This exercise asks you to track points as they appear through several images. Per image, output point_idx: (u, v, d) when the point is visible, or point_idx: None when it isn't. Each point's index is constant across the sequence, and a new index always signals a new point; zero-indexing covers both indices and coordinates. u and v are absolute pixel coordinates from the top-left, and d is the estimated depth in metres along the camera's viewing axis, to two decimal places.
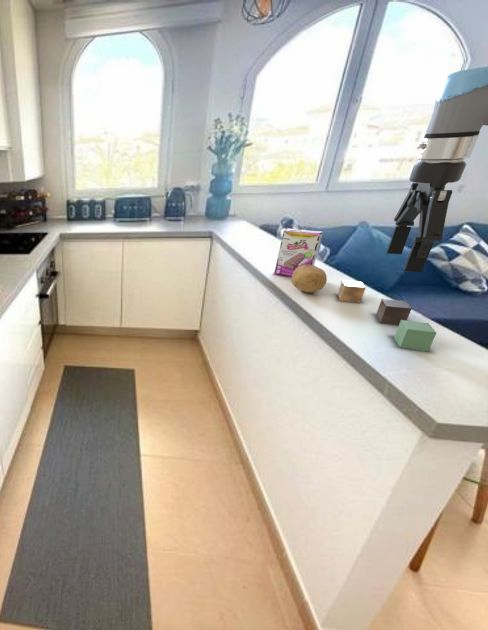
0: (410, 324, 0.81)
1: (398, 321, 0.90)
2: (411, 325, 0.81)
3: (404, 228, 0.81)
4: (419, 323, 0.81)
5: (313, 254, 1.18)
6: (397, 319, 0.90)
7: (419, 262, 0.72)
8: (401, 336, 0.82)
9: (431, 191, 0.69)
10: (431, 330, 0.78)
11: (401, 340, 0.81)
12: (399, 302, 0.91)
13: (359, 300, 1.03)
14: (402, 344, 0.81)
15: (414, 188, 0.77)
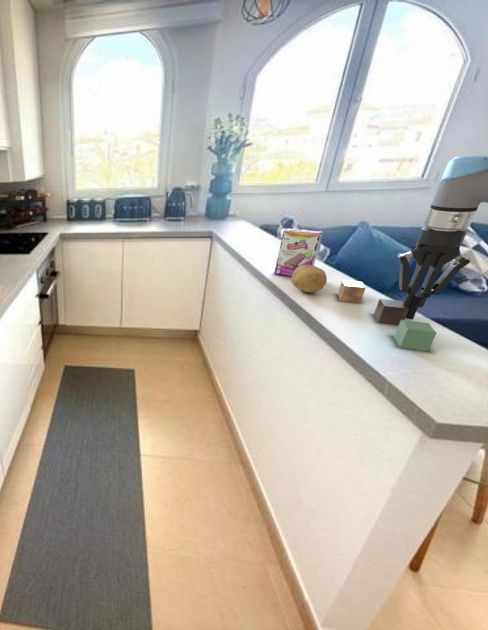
0: (410, 324, 0.81)
1: (396, 321, 0.91)
2: (411, 325, 0.81)
3: None
4: (419, 323, 0.81)
5: (313, 254, 1.18)
6: (395, 319, 0.90)
7: None
8: (401, 336, 0.82)
9: (458, 254, 0.81)
10: (431, 330, 0.78)
11: (401, 340, 0.81)
12: (397, 302, 0.92)
13: (359, 300, 1.03)
14: (402, 344, 0.81)
15: None
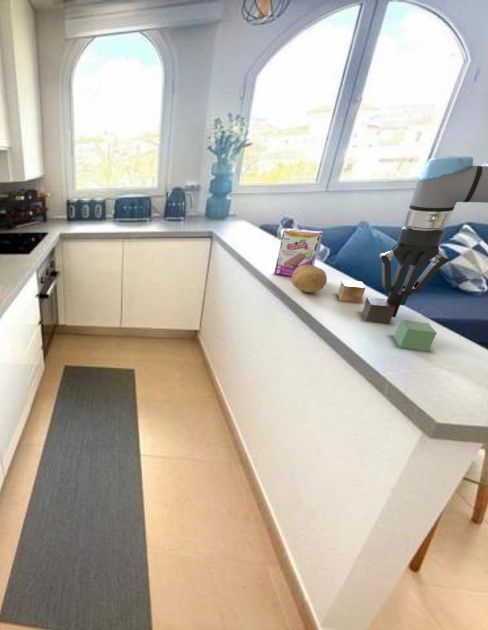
0: (410, 324, 0.81)
1: (383, 319, 0.92)
2: (411, 325, 0.81)
3: None
4: (419, 323, 0.81)
5: (313, 254, 1.18)
6: (382, 317, 0.91)
7: None
8: (401, 336, 0.82)
9: (437, 253, 0.82)
10: (431, 330, 0.78)
11: (401, 340, 0.81)
12: (384, 300, 0.93)
13: (359, 300, 1.03)
14: (402, 344, 0.81)
15: (387, 257, 0.87)
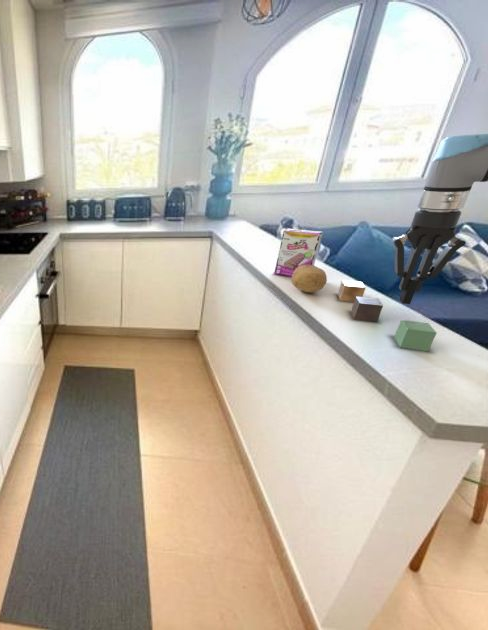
0: (410, 324, 0.81)
1: (371, 318, 0.93)
2: (411, 325, 0.81)
3: None
4: (419, 323, 0.81)
5: (313, 254, 1.18)
6: (370, 315, 0.93)
7: None
8: (401, 336, 0.82)
9: (454, 236, 0.80)
10: (431, 330, 0.78)
11: (401, 340, 0.81)
12: (372, 299, 0.94)
13: None
14: (402, 344, 0.81)
15: (401, 241, 0.85)
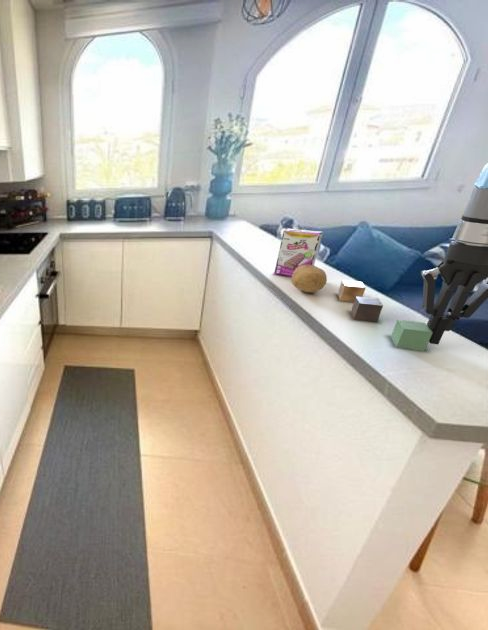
0: (407, 324, 0.81)
1: (371, 318, 0.93)
2: (407, 325, 0.81)
3: None
4: (416, 322, 0.82)
5: (313, 254, 1.18)
6: (370, 315, 0.93)
7: None
8: (397, 336, 0.82)
9: None
10: (427, 330, 0.78)
11: (397, 340, 0.82)
12: (372, 299, 0.94)
13: None
14: (398, 344, 0.81)
15: (432, 276, 0.75)
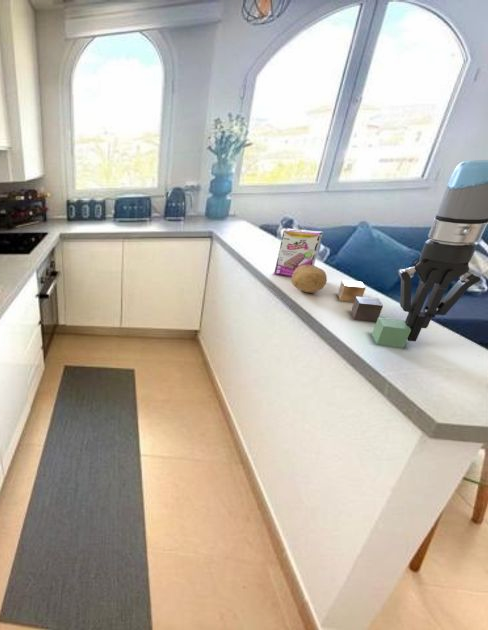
0: (387, 322, 0.83)
1: (371, 318, 0.93)
2: (387, 322, 0.82)
3: None
4: (396, 320, 0.83)
5: (313, 254, 1.18)
6: (370, 315, 0.93)
7: None
8: (378, 334, 0.84)
9: (467, 271, 0.72)
10: (406, 327, 0.80)
11: (378, 337, 0.83)
12: (372, 299, 0.94)
13: None
14: (379, 341, 0.83)
15: (408, 274, 0.76)
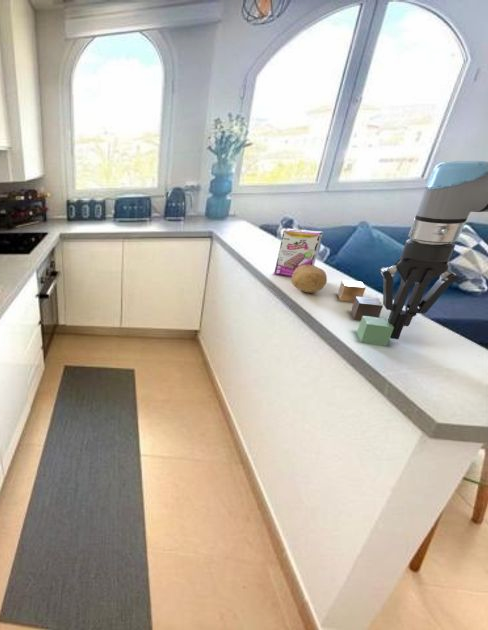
0: (371, 320, 0.84)
1: None
2: (371, 320, 0.84)
3: None
4: (379, 318, 0.85)
5: (313, 254, 1.18)
6: (370, 315, 0.93)
7: None
8: (362, 332, 0.85)
9: (446, 270, 0.73)
10: (389, 325, 0.81)
11: (362, 335, 0.85)
12: (372, 299, 0.94)
13: None
14: (363, 339, 0.84)
15: (390, 273, 0.78)
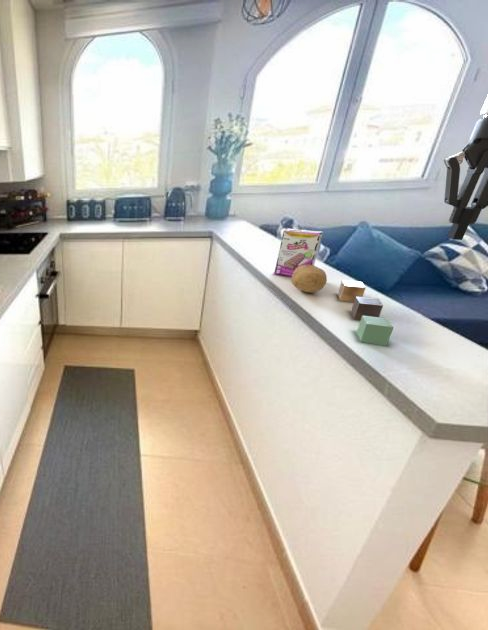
0: (370, 319, 0.84)
1: None
2: (371, 320, 0.84)
3: None
4: (379, 318, 0.85)
5: (313, 254, 1.18)
6: (370, 315, 0.93)
7: None
8: (361, 331, 0.85)
9: None
10: (389, 325, 0.81)
11: (361, 335, 0.85)
12: (372, 299, 0.94)
13: None
14: (362, 338, 0.84)
15: None
